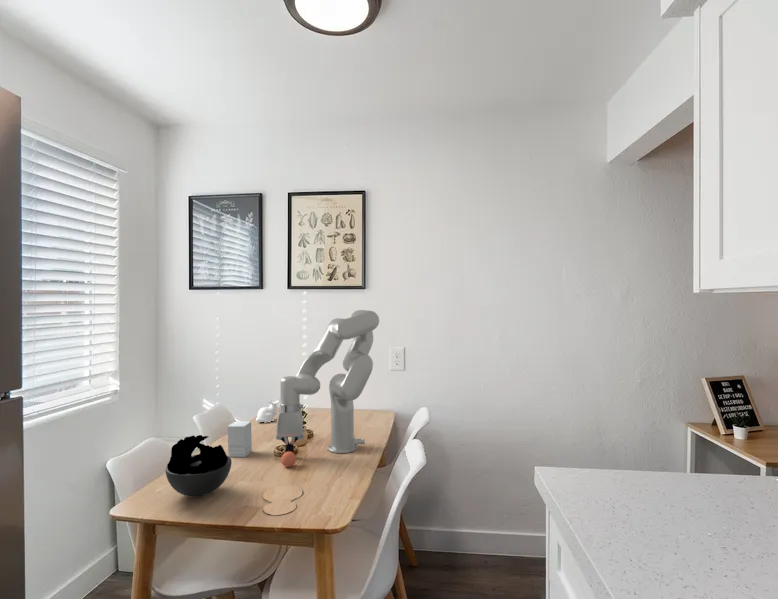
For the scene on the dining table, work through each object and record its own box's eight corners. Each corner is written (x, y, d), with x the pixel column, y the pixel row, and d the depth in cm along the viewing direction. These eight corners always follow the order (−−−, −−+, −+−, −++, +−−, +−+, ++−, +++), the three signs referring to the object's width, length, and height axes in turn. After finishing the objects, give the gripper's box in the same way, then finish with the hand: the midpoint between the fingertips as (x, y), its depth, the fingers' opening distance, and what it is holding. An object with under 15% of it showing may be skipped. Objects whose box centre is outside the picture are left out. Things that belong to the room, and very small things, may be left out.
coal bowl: (184, 481, 161) (183, 428, 161) (240, 482, 161) (240, 428, 161) (153, 508, 141) (152, 446, 141) (217, 508, 141) (216, 447, 141)
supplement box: (252, 451, 193) (252, 421, 193) (245, 457, 185) (244, 426, 185) (235, 450, 193) (235, 420, 193) (227, 457, 186) (227, 425, 186)
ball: (296, 463, 178) (296, 449, 178) (295, 468, 173) (295, 454, 172) (281, 464, 177) (281, 449, 177) (280, 469, 172) (280, 454, 172)
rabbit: (272, 418, 246) (272, 395, 246) (283, 421, 239) (282, 398, 239) (252, 422, 237) (252, 399, 237) (262, 426, 230) (262, 402, 230)
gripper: (309, 405, 189) (309, 449, 189) (271, 406, 187) (271, 451, 187) (308, 409, 181) (308, 456, 181) (269, 410, 179) (269, 457, 179)
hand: (289, 453), depth 184 cm, fingers closed
